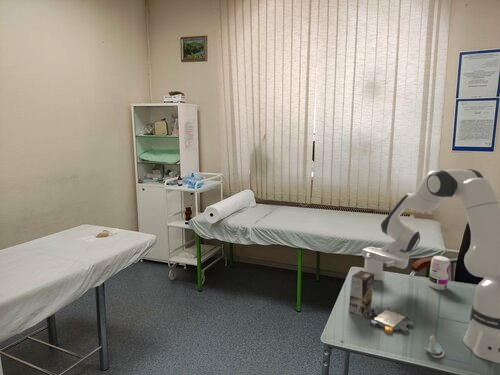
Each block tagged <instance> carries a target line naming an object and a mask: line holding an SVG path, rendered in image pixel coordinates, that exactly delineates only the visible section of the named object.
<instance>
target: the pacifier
mask: <svg viewBox="0 0 500 375" xmlns="http://www.w3.org/2000/svg"><path fill="white" fill-rule="evenodd" d="M424 350H425V351H427V352H428V354H429V355H431V356H432V357H433V358H436V359H441V358H444V357H445V351H444V350H443V348H442V346H441V344H440V343H439V342H438V341H436V336H435V335H430V337H429V343H428V344H427V347H424Z"/></svg>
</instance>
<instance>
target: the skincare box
mask: <svg viewBox="0 0 500 375" xmlns="http://www.w3.org/2000/svg"><path fill="white" fill-rule="evenodd" d="M377 248H378V249H381V248H382V247H377ZM365 258H366V257H364V265H363V266H364V267H363V271H365V272H369V273H372V274H374V281H381V282H382V281H383V270H384V263H382V262H379V261H376V260H373V259H370V260H366V259H365Z"/></svg>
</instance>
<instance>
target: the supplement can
mask: <svg viewBox="0 0 500 375" xmlns="http://www.w3.org/2000/svg"><path fill="white" fill-rule="evenodd" d="M450 267H451V261H450V259H449V258H448V257H446V256H444V255H433V257H432V258H431V261H430V269H429V277H428V278H429V279H428V286H429V287H430V288H432V289H434V290H438V291H439V290H440V291H444V290H446V289H447V288H448V282H449V275H450Z"/></svg>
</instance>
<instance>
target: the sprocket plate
mask: <svg viewBox="0 0 500 375" xmlns="http://www.w3.org/2000/svg"><path fill="white" fill-rule="evenodd" d="M365 314H366V315H365V316H366V317H365V319H368V320H369V326H371V327H372V328H380V329H382V330H384V333H385V334H390V335H391V334H393V332H399V333H401V334H402V335H406V334H409V333H410V329H414V324H415V323H414V321H411V320H409V318H410V317H409V315H408V314H406V313H405V312H402V313H399V312H398V311H394V308H390V307H386V309H381V308H378V307H371V312H369V311H367V312H366V313H365ZM409 328H410V329H409Z"/></svg>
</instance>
